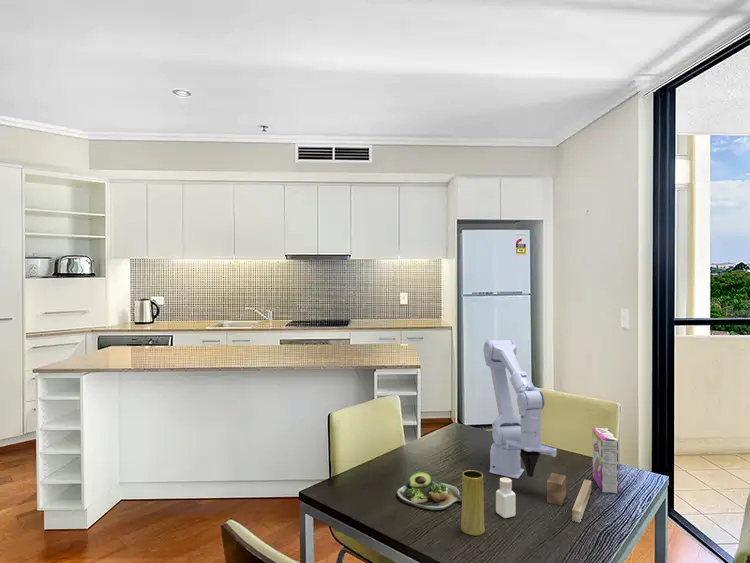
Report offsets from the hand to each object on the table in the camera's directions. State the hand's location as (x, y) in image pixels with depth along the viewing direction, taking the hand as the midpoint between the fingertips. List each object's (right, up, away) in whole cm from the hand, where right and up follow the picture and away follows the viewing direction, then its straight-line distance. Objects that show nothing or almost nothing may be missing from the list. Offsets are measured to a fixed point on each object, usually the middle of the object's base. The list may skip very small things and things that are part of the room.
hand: (530, 475), depth 140 cm
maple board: (+12, -5, -8) cm, 15 cm away
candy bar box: (+25, -5, +5) cm, 26 cm away
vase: (-22, -6, -21) cm, 30 cm away
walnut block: (+6, -5, -4) cm, 9 cm away
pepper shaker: (-11, -6, -13) cm, 18 cm away
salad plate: (-31, -6, -2) cm, 32 cm away
